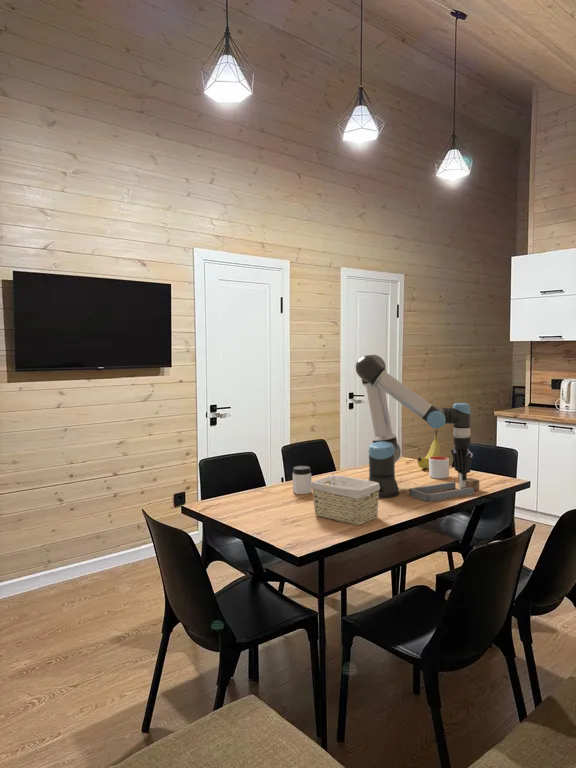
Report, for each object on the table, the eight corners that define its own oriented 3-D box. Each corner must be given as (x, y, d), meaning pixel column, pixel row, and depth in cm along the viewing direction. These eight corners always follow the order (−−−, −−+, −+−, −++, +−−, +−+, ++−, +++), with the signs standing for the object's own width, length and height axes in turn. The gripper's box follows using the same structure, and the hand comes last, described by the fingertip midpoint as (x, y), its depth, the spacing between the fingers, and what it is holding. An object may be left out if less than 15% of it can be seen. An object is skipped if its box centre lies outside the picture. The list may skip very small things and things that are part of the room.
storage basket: (382, 518, 226) (381, 481, 225) (359, 528, 214) (358, 489, 213) (334, 508, 242) (333, 473, 241) (310, 516, 230) (309, 481, 229)
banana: (423, 471, 307) (423, 435, 306) (414, 470, 311) (413, 434, 310) (442, 464, 325) (442, 429, 323) (433, 463, 328) (432, 429, 327)
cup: (425, 476, 296) (424, 457, 295) (440, 474, 300) (440, 455, 299) (437, 480, 287) (437, 460, 286) (453, 478, 291) (453, 458, 290)
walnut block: (469, 492, 262) (469, 481, 262) (460, 489, 267) (460, 479, 267) (479, 490, 264) (479, 480, 264) (470, 488, 270) (470, 477, 269)
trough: (428, 501, 247) (427, 495, 247) (409, 495, 259) (409, 488, 259) (473, 494, 258) (473, 487, 258) (453, 488, 270) (453, 481, 270)
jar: (314, 493, 266) (313, 468, 266) (297, 495, 264) (297, 470, 263) (306, 489, 275) (306, 465, 274) (291, 491, 272) (290, 466, 271)
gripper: (478, 437, 258) (478, 488, 259) (458, 434, 270) (459, 483, 271) (465, 439, 255) (466, 491, 256) (446, 435, 267) (446, 485, 268)
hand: (462, 486), depth 264 cm, fingers closed
